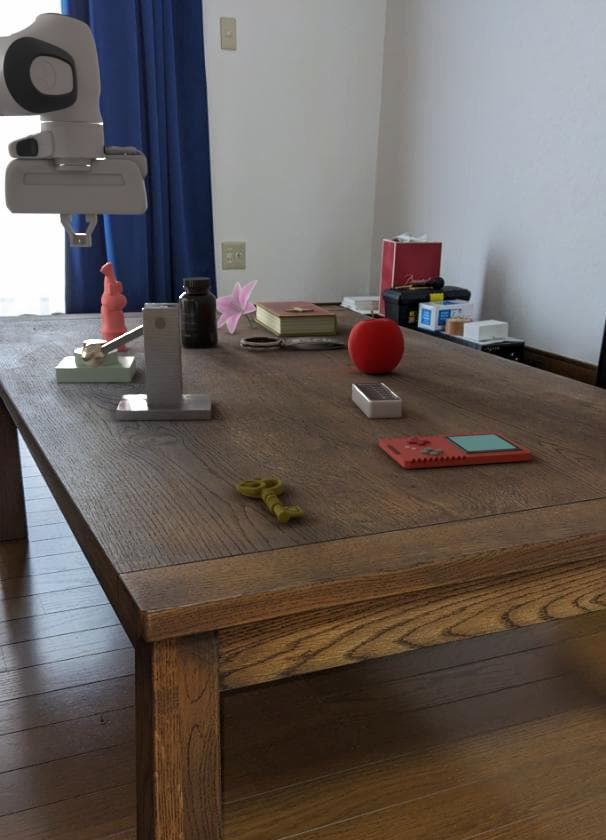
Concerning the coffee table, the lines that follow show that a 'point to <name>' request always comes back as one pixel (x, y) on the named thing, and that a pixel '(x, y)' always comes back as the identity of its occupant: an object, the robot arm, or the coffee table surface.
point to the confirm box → (96, 369)
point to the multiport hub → (376, 400)
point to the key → (269, 496)
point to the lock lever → (106, 348)
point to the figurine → (112, 307)
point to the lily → (235, 305)
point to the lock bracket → (163, 372)
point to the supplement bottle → (198, 314)
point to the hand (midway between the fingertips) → (81, 246)
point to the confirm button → (101, 342)
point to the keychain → (290, 343)
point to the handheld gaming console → (454, 450)
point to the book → (295, 318)
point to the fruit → (376, 345)
